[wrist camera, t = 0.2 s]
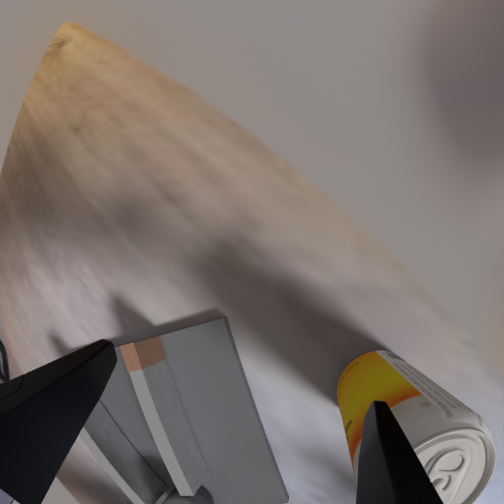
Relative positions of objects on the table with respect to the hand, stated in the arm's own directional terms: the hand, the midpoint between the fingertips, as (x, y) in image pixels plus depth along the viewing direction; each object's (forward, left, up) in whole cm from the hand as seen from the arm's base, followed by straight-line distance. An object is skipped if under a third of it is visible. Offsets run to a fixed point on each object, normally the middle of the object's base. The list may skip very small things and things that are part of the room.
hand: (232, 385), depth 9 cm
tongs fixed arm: (-4, +10, -14) cm, 17 cm away
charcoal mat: (-7, +12, -15) cm, 20 cm away
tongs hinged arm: (-7, +15, -14) cm, 22 cm away
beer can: (-7, -6, -15) cm, 18 cm away
